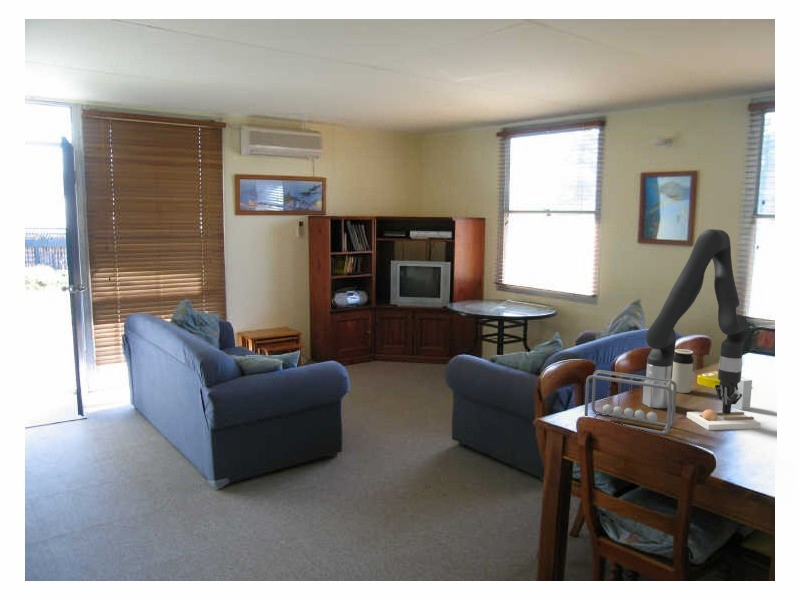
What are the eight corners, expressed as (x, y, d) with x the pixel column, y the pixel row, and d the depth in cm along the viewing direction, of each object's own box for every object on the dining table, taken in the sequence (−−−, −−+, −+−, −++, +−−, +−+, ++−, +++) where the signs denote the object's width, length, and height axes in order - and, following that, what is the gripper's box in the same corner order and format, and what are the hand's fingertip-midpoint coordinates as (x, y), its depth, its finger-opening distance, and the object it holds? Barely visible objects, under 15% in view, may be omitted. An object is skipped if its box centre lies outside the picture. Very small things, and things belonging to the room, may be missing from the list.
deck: (708, 430, 220) (708, 422, 220) (686, 417, 234) (687, 410, 234) (760, 428, 222) (760, 420, 222) (735, 415, 236) (736, 408, 236)
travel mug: (692, 394, 263) (695, 353, 261) (672, 392, 266) (674, 352, 263) (689, 389, 271) (692, 349, 268) (670, 387, 273) (673, 348, 271)
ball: (708, 408, 225) (721, 413, 225) (702, 406, 230) (715, 410, 230) (703, 421, 225) (716, 426, 225) (697, 418, 230) (710, 423, 230)
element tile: (727, 392, 268) (728, 381, 267) (695, 384, 280) (695, 374, 280) (745, 387, 276) (746, 376, 275) (713, 379, 288) (714, 369, 288)
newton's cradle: (674, 427, 223) (677, 380, 221) (669, 436, 215) (672, 387, 212) (591, 412, 240) (593, 368, 237) (583, 420, 231) (586, 374, 228)
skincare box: (750, 409, 244) (752, 380, 242) (741, 410, 242) (744, 381, 241) (737, 404, 249) (740, 376, 248) (729, 405, 248) (731, 377, 246)
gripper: (709, 364, 232) (706, 408, 234) (732, 373, 219) (728, 419, 221) (728, 363, 232) (724, 407, 235) (751, 372, 219) (747, 419, 222)
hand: (726, 413), depth 228 cm, fingers closed
